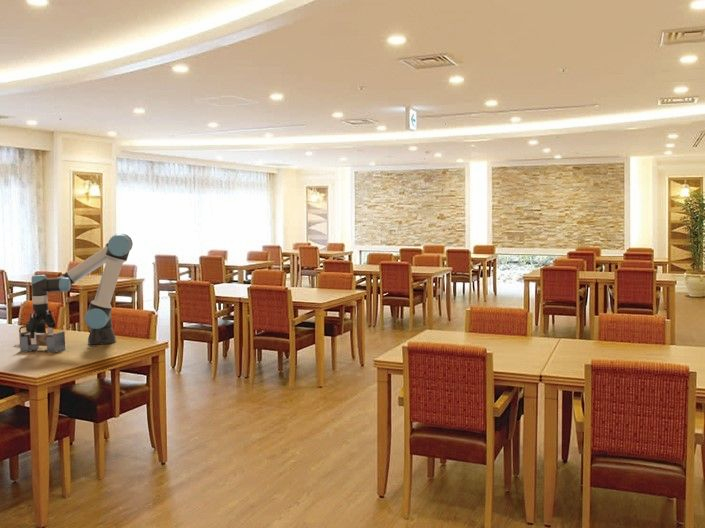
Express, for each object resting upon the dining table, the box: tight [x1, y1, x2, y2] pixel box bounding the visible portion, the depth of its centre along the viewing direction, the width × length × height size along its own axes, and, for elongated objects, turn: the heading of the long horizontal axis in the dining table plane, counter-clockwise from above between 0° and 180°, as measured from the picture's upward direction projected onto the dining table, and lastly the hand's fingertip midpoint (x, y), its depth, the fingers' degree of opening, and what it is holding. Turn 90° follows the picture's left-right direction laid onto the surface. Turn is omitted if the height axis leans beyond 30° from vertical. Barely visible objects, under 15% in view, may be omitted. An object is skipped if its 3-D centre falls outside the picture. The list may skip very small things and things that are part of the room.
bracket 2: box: [46, 330, 66, 353], centre depth 378 cm, size 5×9×10 cm, turn 166°
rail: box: [24, 332, 54, 347], centre depth 380 cm, size 18×5×6 cm, turn 76°
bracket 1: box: [18, 330, 40, 352], centre depth 382 cm, size 5×9×10 cm, turn 166°
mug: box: [18, 320, 47, 333], centre depth 405 cm, size 11×15×12 cm
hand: (42, 341), depth 380 cm, fingers open, 13 cm apart
